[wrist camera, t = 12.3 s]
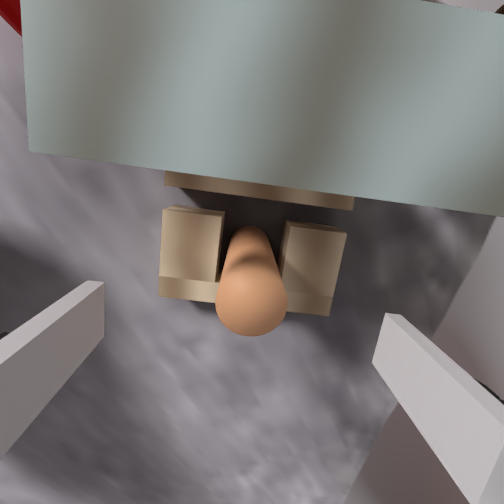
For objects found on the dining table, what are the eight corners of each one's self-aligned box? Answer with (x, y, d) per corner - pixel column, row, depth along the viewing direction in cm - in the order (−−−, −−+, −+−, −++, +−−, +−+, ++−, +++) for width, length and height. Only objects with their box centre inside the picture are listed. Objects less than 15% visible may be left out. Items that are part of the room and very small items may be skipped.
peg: (227, 261, 30) (211, 332, 16) (232, 223, 29) (219, 265, 15) (266, 266, 30) (281, 340, 17) (271, 228, 29) (293, 274, 16)
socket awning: (169, 280, 30) (45, 446, 12) (181, 105, 26) (16, -70, 8) (318, 298, 31) (423, 481, 13) (353, 130, 27) (591, 30, 8)
